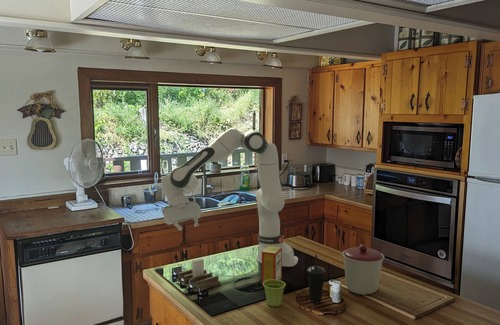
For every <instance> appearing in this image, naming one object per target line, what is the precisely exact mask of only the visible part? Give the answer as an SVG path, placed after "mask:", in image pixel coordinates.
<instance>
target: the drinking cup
mask: <svg viewBox="0 0 500 325" xmlns="http://www.w3.org/2000/svg"><path fill="white" fill-rule="evenodd" d="M314 259H315V264H314V265H313V266H309V267H307V268H306V271H307V272H306V273H307V281H308V282H307V283H308V293H309V294H308V295H309V301H310V300H311V301H313V302H320V301H321V302H322V300H323V299H322V298H323V297H322V296H323V290H324V289H323V288H324V280H325V273H326V269H325V268H324V267H321V266H318V254H315V258H314ZM321 302H320V303H321Z"/></svg>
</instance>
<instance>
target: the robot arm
mask: <svg viewBox="0 0 500 325" xmlns="http://www.w3.org/2000/svg"><path fill="white" fill-rule="evenodd" d="M240 148H242V149H243V150H245V151H247V152H252V153H255V154H256V157H257V178H258V181H259V186H260V187H259V189H258V190H257V191H256V193H255V199H256V207H257V213H258V221H259V223H258V225H259V226H258V227H259V228H258V229H259V230H258V231H259V232H258V237H257V239H258V240H257V243H258V251H257V254H256V255H257V256H256V259H255V261H257V263H260V264H262V251H263V250H264V249H266V248H267V247H268V246H274V247H282V267H289V268H290V267H295V266H296V265H297V264H298V263H299V257H297V256H295V254H294V253H295V252H294V249H293V247H291V246H290V245H288V244H287V243H286V242H285V241H284V237H285V235H282V234H281V231H280V230H281V229H280V228H281V219H280V216H279V212H281V211H282V210H283V209H284V207H285V203H286V202H285V198H284V195H283V190H282V185H281V180H280V167H279V166H280V164H279V155H278V149H277V146H276V144H274V143H273V142H269V141H267V139H266V138H265V136H264V135H263V134H262V133H261V132H260V131H257V130H253V129H251V130H245V131H240V130H238V129H237V128H233V127H231V128H228V129H227V130H225V131H224V132H222V133H221V134H220V135H219V136H218V137H217V138H215V140H213V141H212V142H211V143H210V144H209V145H207V146H206V147H204V148H202V149H201V150H199V151H198V152H197V153H196V154H195V155H194V156H192V157H191V158H190V159H189V160H187V161H186V162H184V163H183V164H182V165H180V166H177V167H175V168H173V170H171V173H168V174H166V175H165V176H163V177H162V178H161V181H160V183H161V184H160V185H161V188H162V192H163V194H164V196H165V197H166V199H167V203H168V205H166V206H163V207H162V208H161V213H162V214H163V218H164V222H165V224H166V225H169V226H170V225H173V226H174V227H176V228H177V230H178V231H183V226H182V225H180V224H179V223H182V222H186V221H191V220H193V221H194V223H193V226H194V227H195V228H196V227H199V225H200V224H199V218H201V217H202V216H203V210H202V208H201V206H200V205H199V204H198V203H197V202H196V198H195V197H191V196H190V197H189V196H185V195H186V194H189V193H191V192H194V191H195V190H196V189H197V188H198V185H199V181H198V180H199V179H198V178H197V176H196V175H194V174H195V172H197V171H198V170H199V169H200V168H201V167H203V166H204V165H205V164H207V163H210V162H211V163H213V162H214V163H222V162H224V161H225V160H226V159H228V158H230V156H231V155H232V154H233V153H234V152H235V151H236V150H237V149H240Z"/></svg>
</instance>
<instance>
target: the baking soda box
mask: <svg viewBox="0 0 500 325" xmlns="http://www.w3.org/2000/svg"><path fill="white" fill-rule="evenodd" d="M282 267H283V266H282V247H274V246H268V247H267V248H266V249H264V250H263V251H262V263H261V285H263V282H264V281H266V280H281V281H282V280H283V278H282V277H283V276H282V275H283V274H282V273H283V272H282V270H283V268H282Z"/></svg>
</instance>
